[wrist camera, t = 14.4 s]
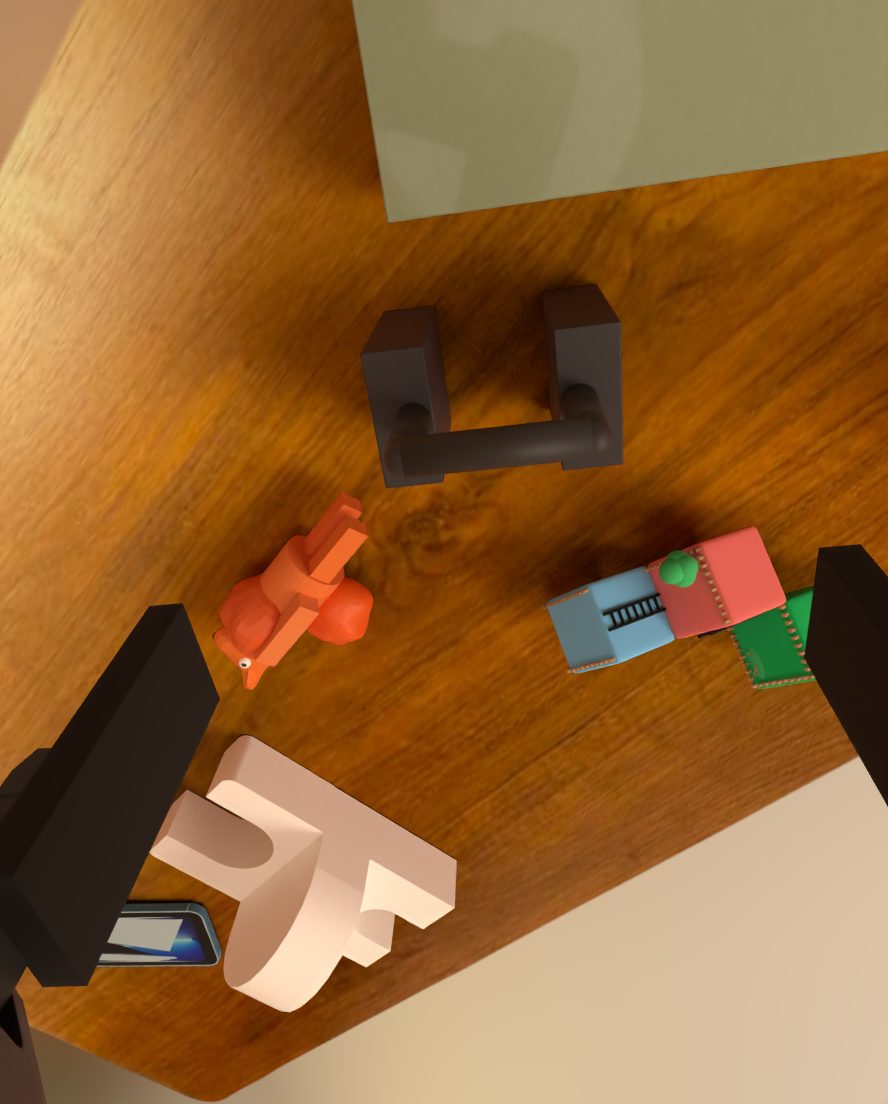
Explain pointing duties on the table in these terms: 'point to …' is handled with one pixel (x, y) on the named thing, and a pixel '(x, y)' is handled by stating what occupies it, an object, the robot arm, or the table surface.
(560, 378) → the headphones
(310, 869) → the white thick notched block
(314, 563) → the orange toy bird
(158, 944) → the smartphone
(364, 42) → the shelf
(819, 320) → the table surface
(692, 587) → the building blocks
